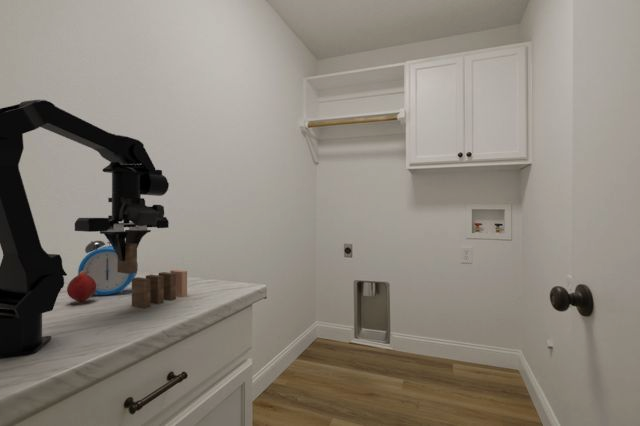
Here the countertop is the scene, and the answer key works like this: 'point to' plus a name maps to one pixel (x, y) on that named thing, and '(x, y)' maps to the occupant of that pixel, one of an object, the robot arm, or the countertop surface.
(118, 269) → the tile
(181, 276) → the tile
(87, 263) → the alarm clock
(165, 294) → the tile
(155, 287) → the tile
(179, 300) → the countertop surface
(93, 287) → the onion
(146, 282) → the tile
